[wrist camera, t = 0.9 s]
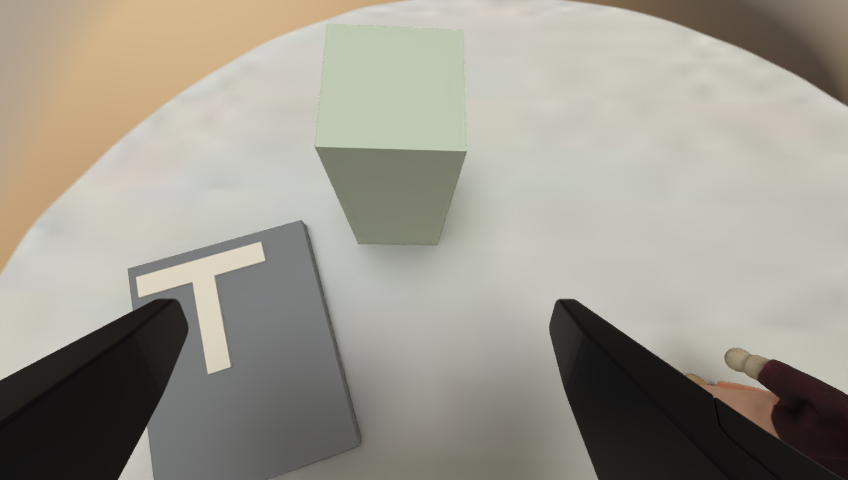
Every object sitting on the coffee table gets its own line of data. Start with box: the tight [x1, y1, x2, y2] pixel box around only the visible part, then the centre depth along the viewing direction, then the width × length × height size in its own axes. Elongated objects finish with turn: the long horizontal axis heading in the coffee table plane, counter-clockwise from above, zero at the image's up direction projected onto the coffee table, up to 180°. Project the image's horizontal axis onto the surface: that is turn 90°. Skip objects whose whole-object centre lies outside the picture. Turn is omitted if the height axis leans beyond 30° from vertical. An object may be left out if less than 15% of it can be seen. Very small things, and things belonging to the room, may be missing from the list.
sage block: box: [315, 24, 467, 245], centre depth 19 cm, size 5×5×12 cm
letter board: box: [128, 220, 361, 480], centre depth 21 cm, size 13×10×1 cm
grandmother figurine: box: [685, 348, 848, 480], centre depth 16 cm, size 8×4×13 cm, turn 40°
